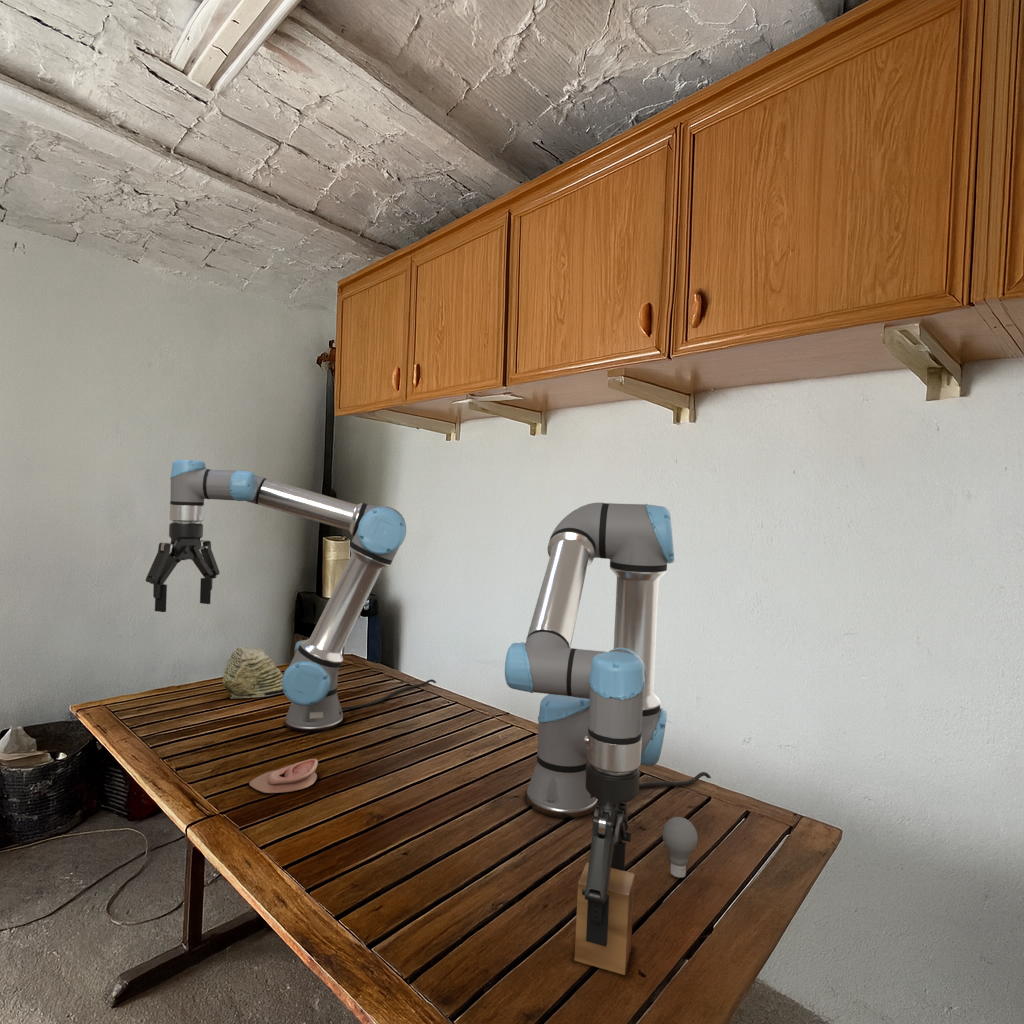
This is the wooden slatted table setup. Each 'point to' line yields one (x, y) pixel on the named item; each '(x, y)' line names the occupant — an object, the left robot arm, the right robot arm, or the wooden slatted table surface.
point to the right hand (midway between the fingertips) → (606, 911)
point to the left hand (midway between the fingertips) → (183, 607)
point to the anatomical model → (287, 778)
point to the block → (618, 924)
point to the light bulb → (679, 843)
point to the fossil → (252, 674)
